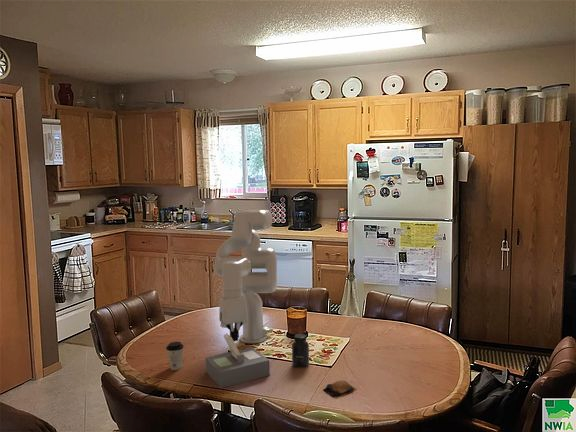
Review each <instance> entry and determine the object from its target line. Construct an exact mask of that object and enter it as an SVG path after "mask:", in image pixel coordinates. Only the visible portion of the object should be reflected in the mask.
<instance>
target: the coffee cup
mask: <svg viewBox="0 0 576 432" xmlns="http://www.w3.org/2000/svg"><path fill="white" fill-rule="evenodd" d="M165 349H166V354H167V359H168V363H169V368H170V370H171V371H178V370H181V369H182V368H183V355H184V353H183V352H184V345H183V344H182V342H181V341H172V342H169V343H168V345H167V346H166V347H165Z"/></svg>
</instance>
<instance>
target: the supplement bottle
mask: <svg viewBox="0 0 576 432" xmlns="http://www.w3.org/2000/svg"><path fill="white" fill-rule="evenodd" d="M291 343H292V344H291V363H292V366H294V367H295V368H306V367H307V366H309V365H310V345H309V342H308V341H307V335H306V334H304V333H297V334H295V335H294V341H293V342H291Z"/></svg>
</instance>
